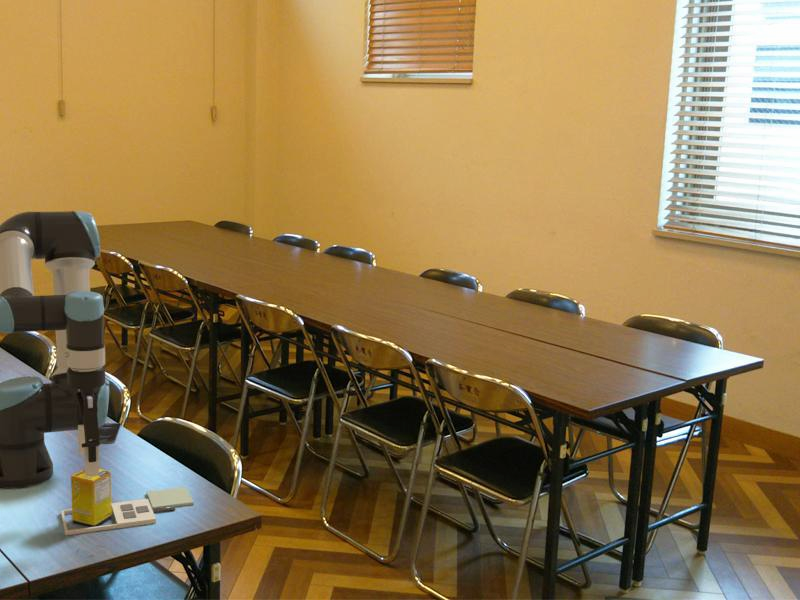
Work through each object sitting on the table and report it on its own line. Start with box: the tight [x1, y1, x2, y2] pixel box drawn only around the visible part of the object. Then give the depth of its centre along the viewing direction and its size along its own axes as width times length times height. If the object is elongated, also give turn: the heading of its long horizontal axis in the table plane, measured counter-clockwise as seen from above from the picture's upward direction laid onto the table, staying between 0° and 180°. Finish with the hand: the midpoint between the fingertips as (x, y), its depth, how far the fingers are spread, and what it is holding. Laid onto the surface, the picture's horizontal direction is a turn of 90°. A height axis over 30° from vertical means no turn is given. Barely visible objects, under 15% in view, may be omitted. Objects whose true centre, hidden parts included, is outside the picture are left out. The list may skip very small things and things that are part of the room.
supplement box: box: [70, 468, 113, 528], centre depth 203 cm, size 6×6×11 cm
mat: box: [146, 486, 195, 509], centre depth 217 cm, size 9×9×1 cm
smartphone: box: [92, 422, 122, 445], centre depth 256 cm, size 8×1×15 cm
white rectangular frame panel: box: [60, 498, 176, 536], centre depth 207 cm, size 11×24×1 cm, turn 113°
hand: (88, 464), depth 201 cm, fingers open, 13 cm apart
